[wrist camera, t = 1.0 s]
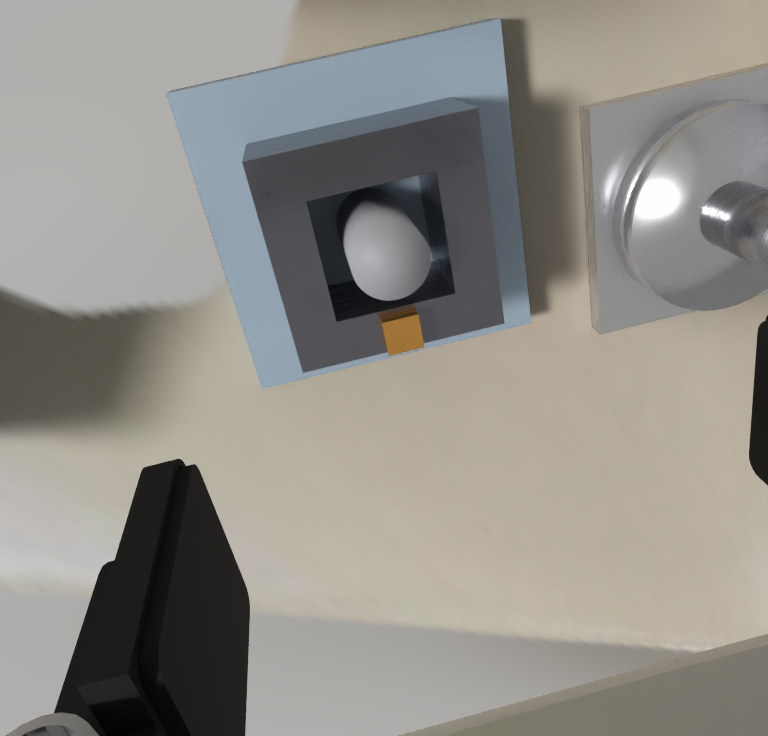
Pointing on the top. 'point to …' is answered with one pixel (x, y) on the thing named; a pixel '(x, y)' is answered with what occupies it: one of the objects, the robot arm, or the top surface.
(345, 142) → the grey square socket block
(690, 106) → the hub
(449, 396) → the top surface
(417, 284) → the stand
